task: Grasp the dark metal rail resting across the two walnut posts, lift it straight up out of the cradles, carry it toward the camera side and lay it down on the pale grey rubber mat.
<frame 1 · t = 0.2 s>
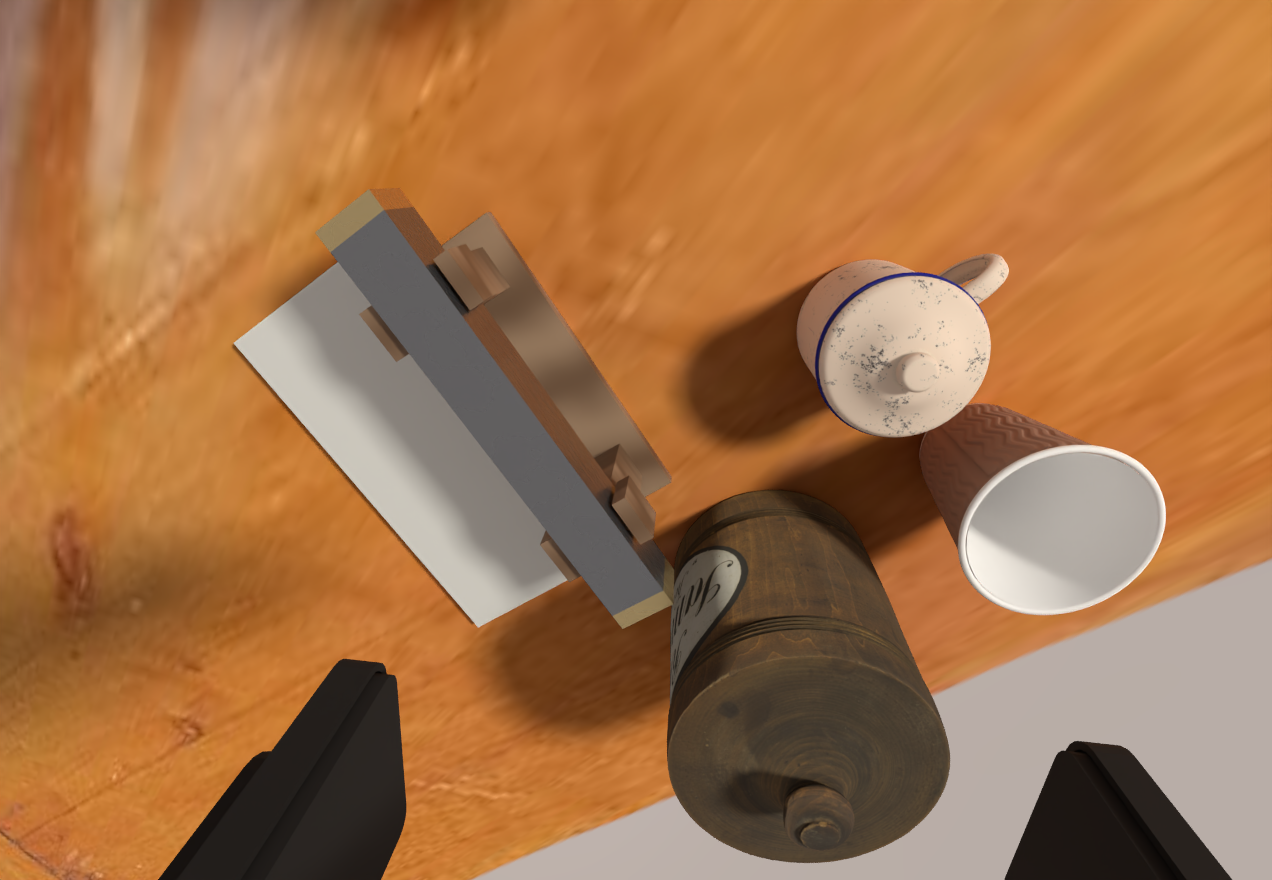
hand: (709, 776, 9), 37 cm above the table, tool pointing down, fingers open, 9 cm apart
coffee cup: (968, 447, 46), on the table
wooden container: (767, 572, 51), on the table
rail: (526, 413, 38), point 8 cm above the table, touching rack
rack: (552, 375, 46), on the table
mat: (424, 456, 49), on the table
teacup with lid: (880, 311, 42), on the table
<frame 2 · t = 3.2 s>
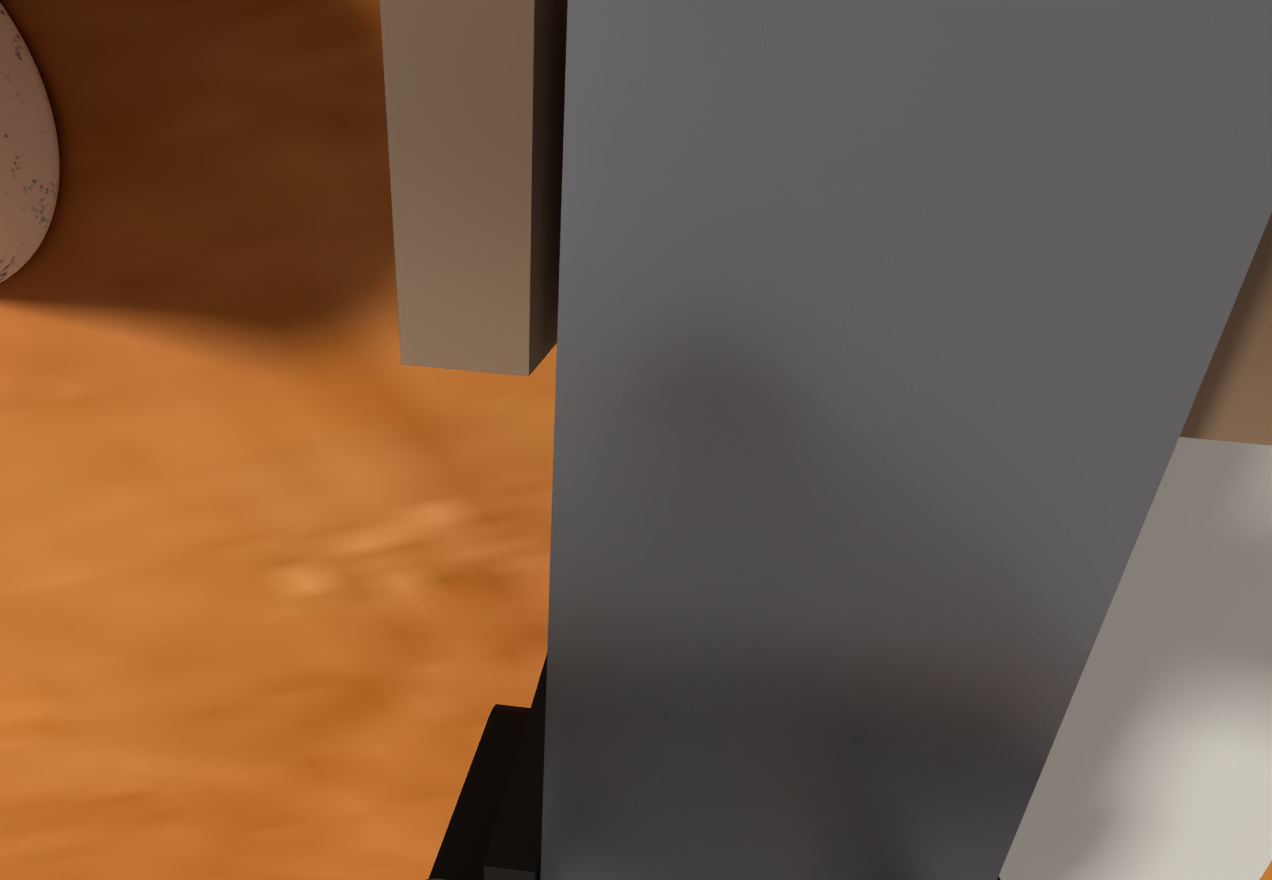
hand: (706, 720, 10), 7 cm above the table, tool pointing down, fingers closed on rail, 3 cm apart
rail: (708, 758, 10), point 8 cm above the table, touching gripper, rack
rack: (698, 509, 17), on the table
mat: (1167, 556, 17), on the table
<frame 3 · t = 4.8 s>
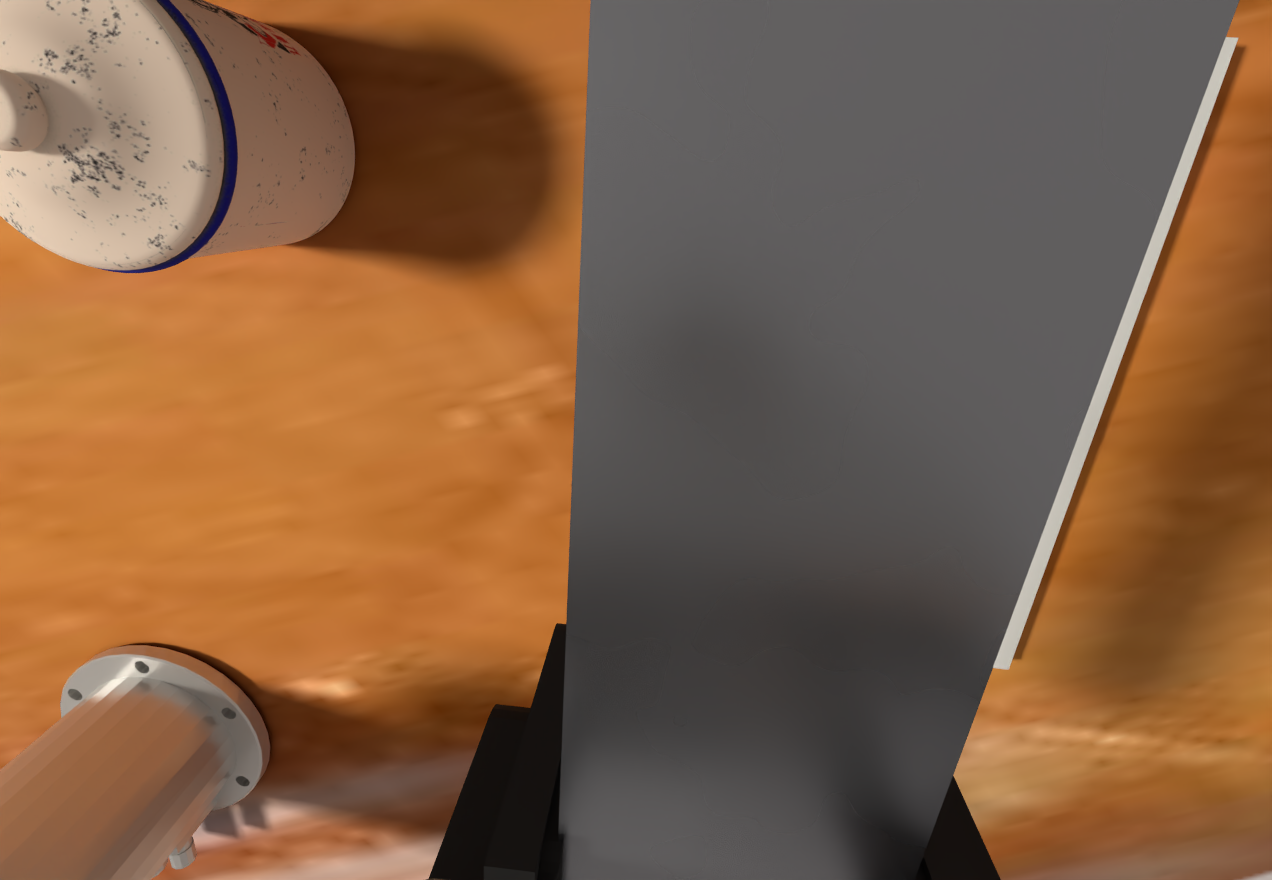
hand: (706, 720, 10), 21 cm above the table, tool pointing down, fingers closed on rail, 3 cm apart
rail: (706, 709, 10), point 21 cm above the table, touching gripper
mat: (963, 393, 29), on the table
teacup with lid: (231, 141, 28), on the table
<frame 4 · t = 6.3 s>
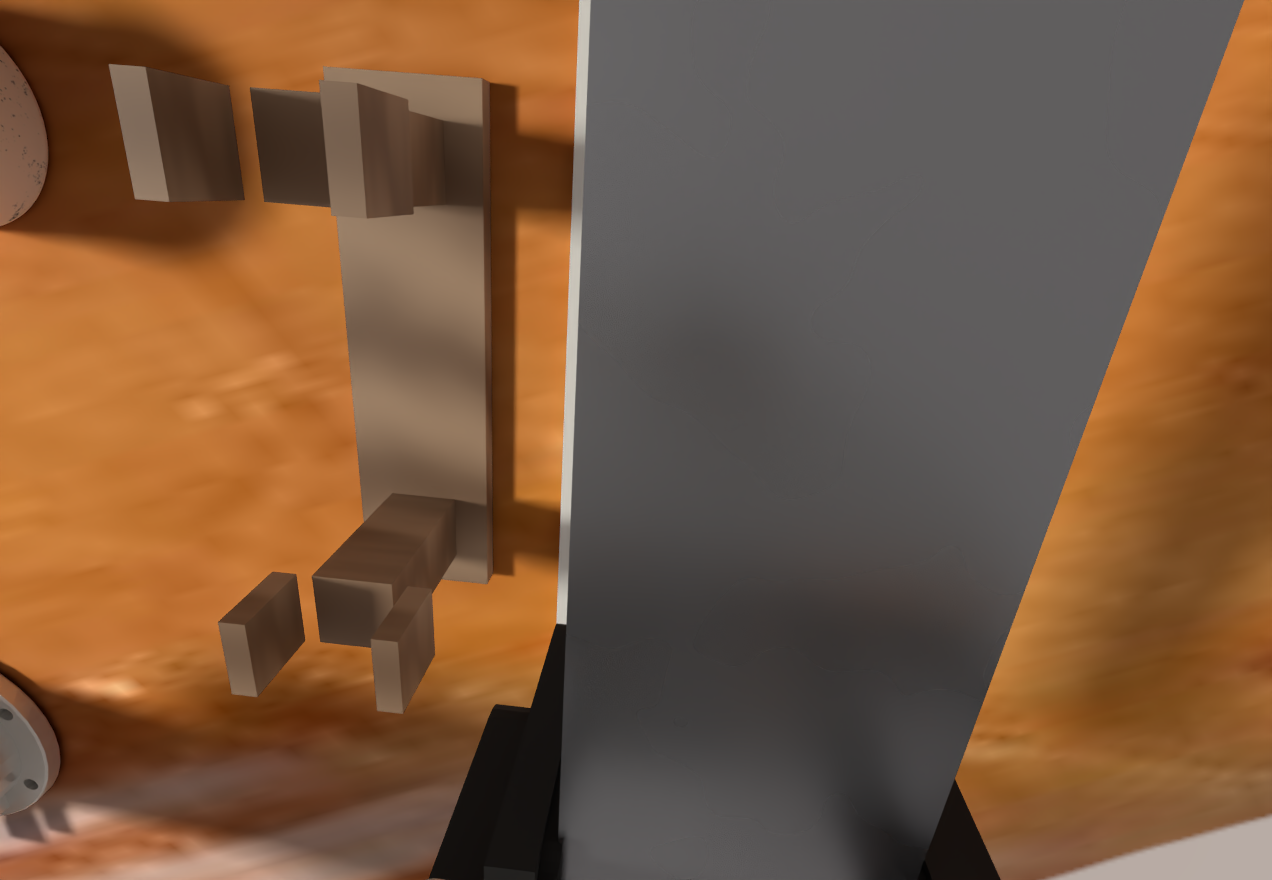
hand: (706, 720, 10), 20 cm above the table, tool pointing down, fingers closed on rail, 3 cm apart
rail: (706, 709, 10), point 19 cm above the table, touching gripper
rack: (425, 355, 29), on the table
mat: (693, 380, 28), on the table
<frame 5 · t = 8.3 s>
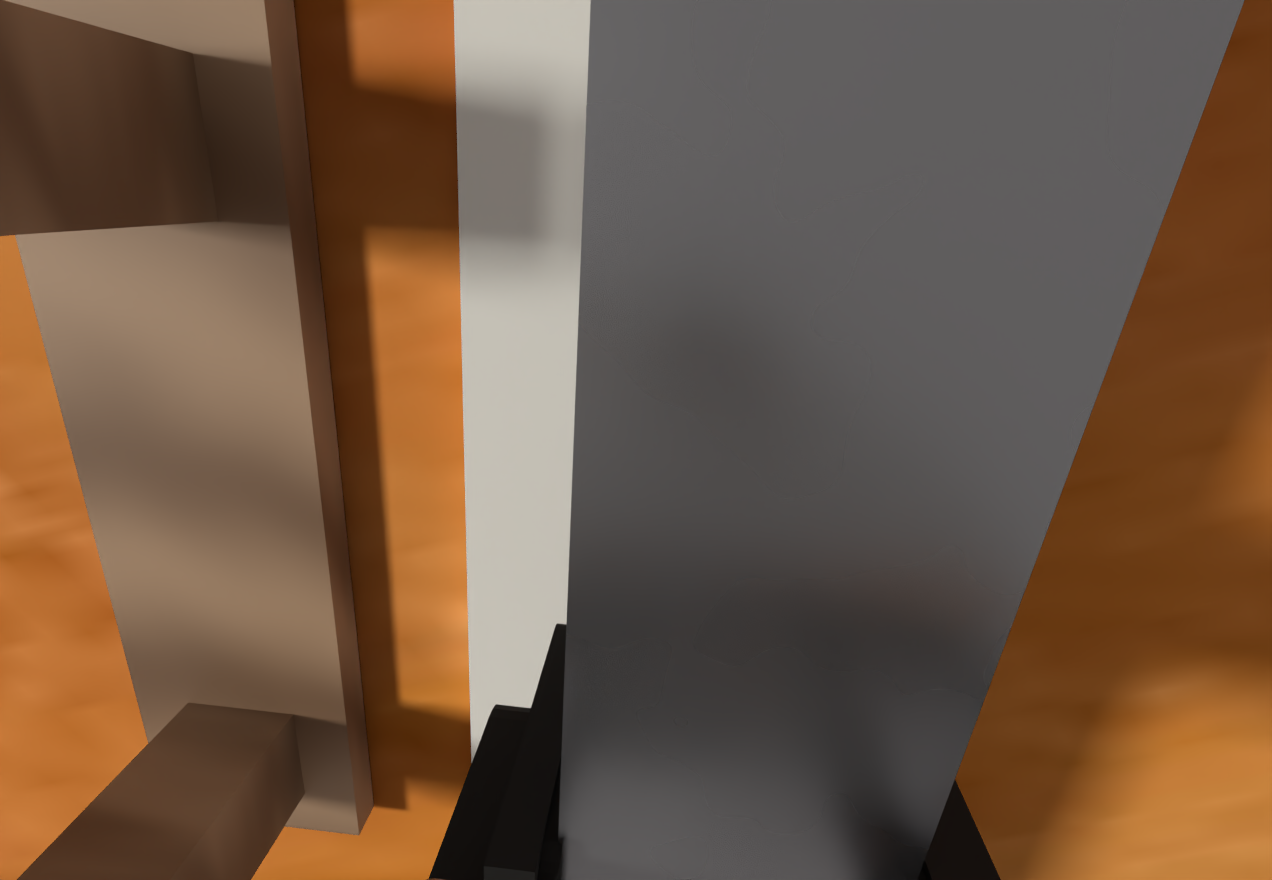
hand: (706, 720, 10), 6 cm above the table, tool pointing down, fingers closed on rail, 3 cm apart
rail: (706, 709, 10), point 6 cm above the table, touching gripper
rack: (228, 481, 17), on the table
mat: (695, 528, 16), on the table
when the fingers open (1 cm above the table, at t = 9.7 s): rail stays where it is, resting on mat.
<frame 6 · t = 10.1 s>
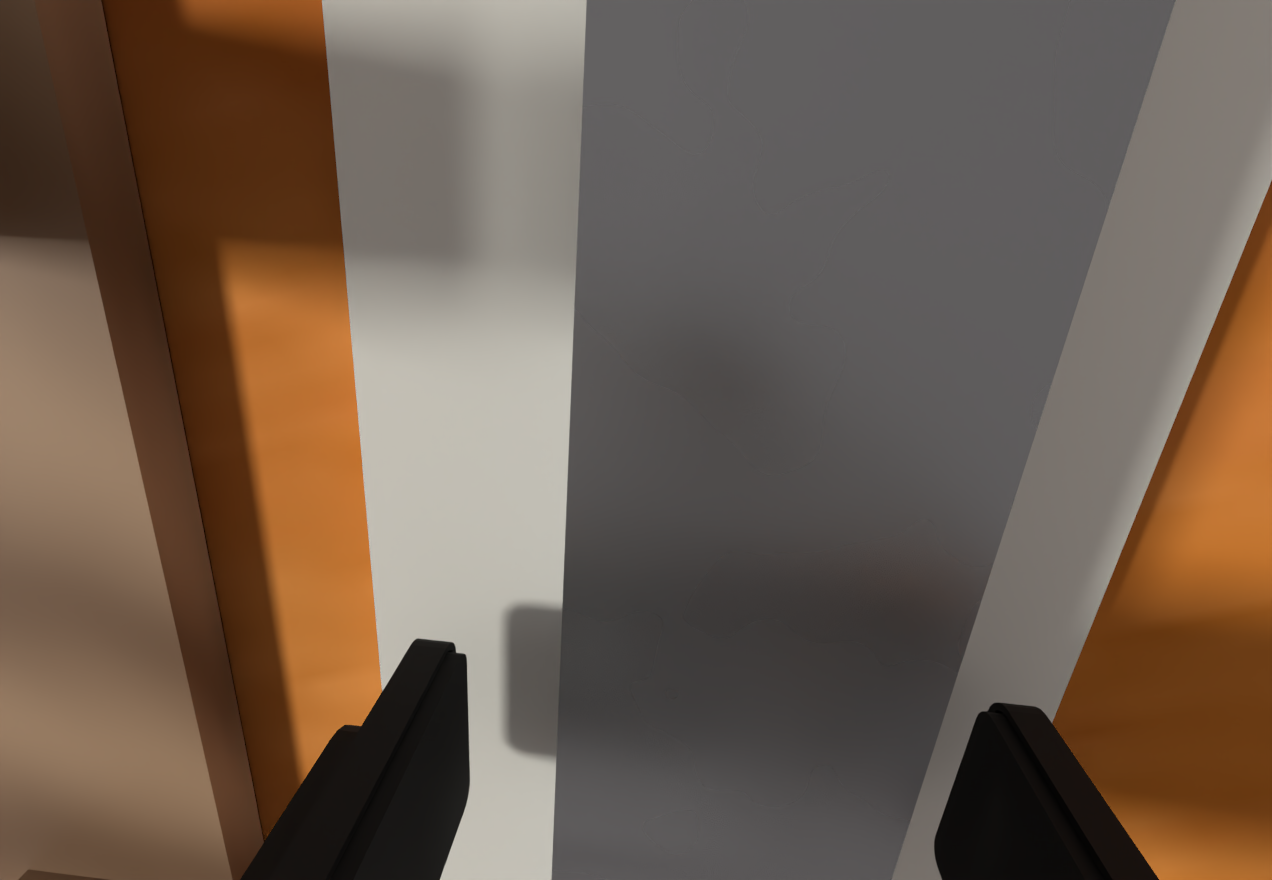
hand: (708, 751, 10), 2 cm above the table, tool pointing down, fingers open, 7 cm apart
rail: (700, 702, 11), point 1 cm above the table, touching mat
rack: (62, 588, 12), on the table
mat: (704, 658, 12), on the table
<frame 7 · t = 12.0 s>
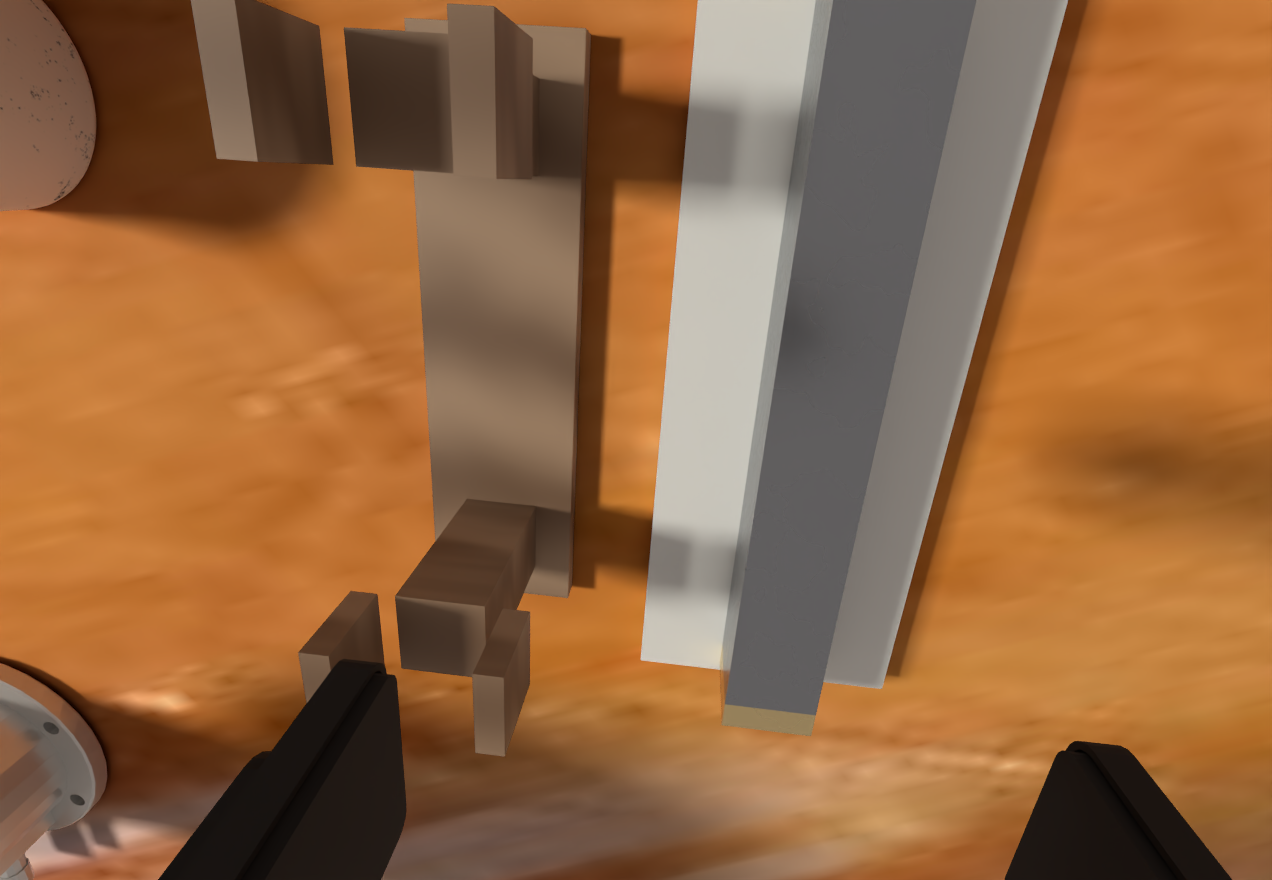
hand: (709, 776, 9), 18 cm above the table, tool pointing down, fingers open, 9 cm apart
rail: (808, 383, 24), point 1 cm above the table, touching mat
rack: (506, 347, 26), on the table
mat: (807, 374, 25), on the table
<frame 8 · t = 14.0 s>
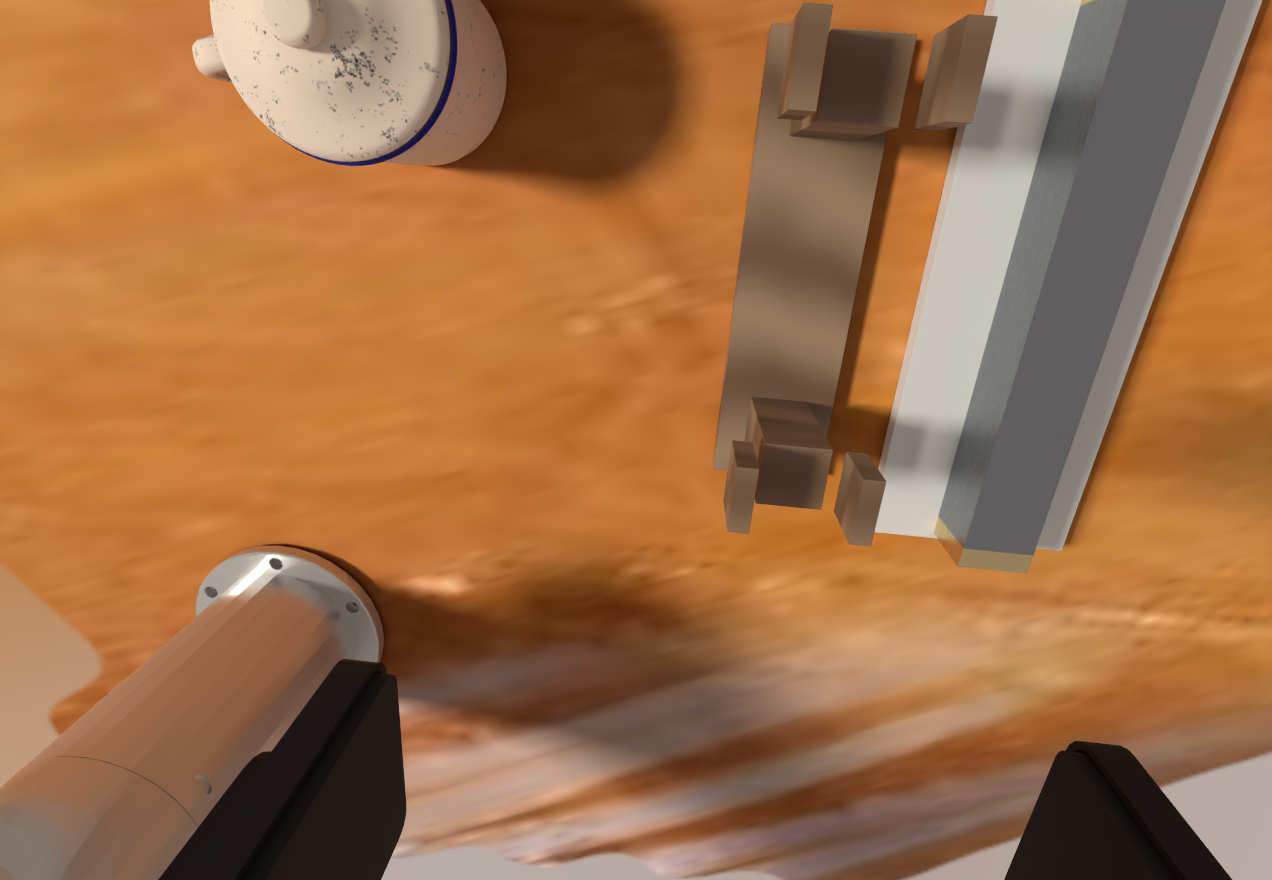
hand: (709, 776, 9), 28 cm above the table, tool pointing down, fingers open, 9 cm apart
rail: (1035, 300, 33), point 1 cm above the table, touching mat
rack: (795, 275, 34), on the table
mat: (1027, 295, 33), on the table
teacup with lid: (395, 74, 32), on the table
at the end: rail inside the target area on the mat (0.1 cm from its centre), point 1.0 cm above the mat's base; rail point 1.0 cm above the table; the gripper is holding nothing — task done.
